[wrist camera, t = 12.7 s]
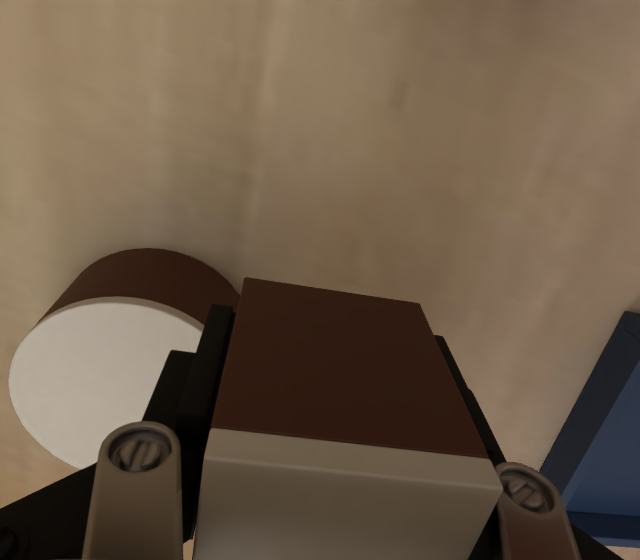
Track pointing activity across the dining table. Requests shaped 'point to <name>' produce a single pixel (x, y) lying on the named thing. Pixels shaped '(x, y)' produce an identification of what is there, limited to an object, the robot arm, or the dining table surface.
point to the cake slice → (339, 436)
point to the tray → (604, 445)
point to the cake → (109, 347)
